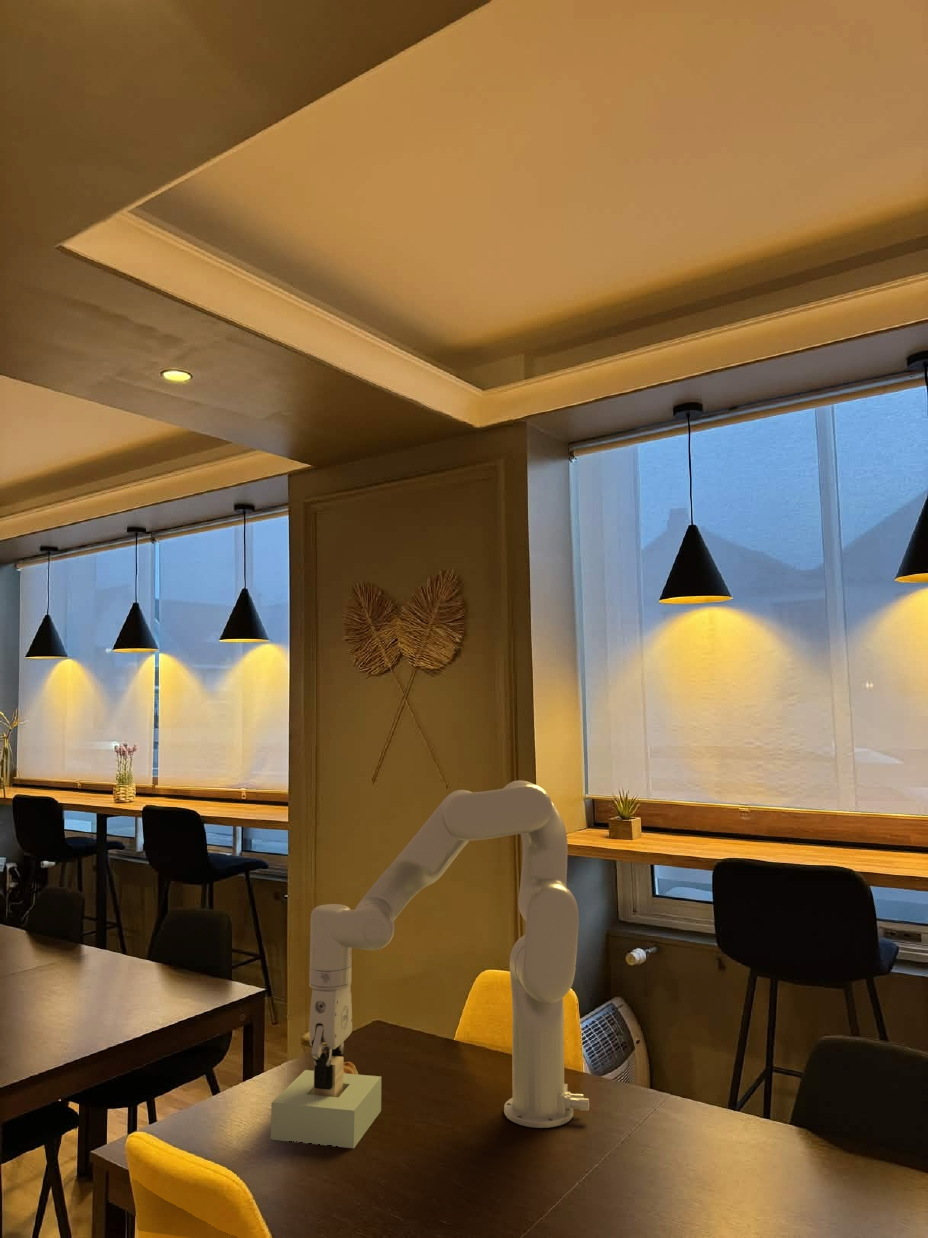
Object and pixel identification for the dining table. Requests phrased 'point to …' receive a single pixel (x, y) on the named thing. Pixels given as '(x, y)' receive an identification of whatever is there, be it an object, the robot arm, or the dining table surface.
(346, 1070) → the pastry
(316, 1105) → the well block
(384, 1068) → the dining table surface
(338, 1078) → the birch block
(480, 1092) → the dining table surface
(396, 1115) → the dining table surface
